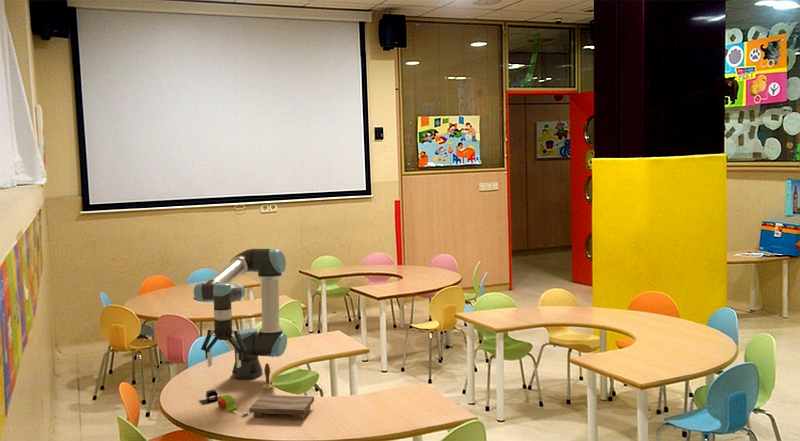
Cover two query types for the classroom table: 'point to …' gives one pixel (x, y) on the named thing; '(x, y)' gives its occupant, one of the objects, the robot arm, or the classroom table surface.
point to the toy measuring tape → (229, 405)
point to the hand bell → (267, 383)
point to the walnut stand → (282, 405)
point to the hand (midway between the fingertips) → (224, 366)
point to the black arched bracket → (210, 400)
